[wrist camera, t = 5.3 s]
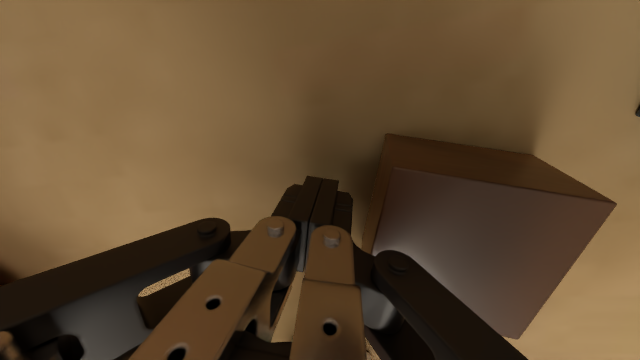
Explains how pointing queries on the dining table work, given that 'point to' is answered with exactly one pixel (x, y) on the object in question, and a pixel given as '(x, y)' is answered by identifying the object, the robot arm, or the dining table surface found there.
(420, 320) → the robot arm
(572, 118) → the dining table surface
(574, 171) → the dining table surface
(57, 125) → the dining table surface
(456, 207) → the walnut block
